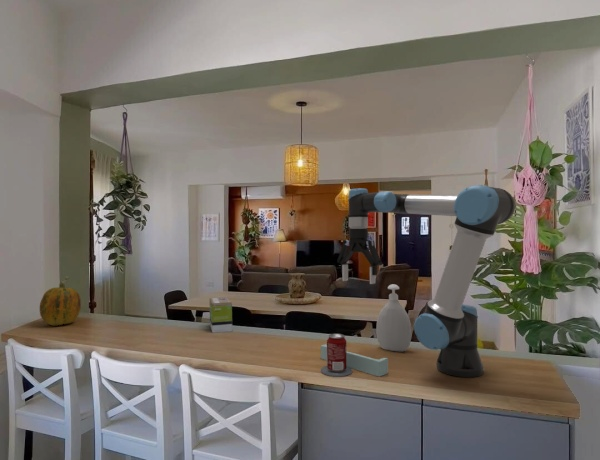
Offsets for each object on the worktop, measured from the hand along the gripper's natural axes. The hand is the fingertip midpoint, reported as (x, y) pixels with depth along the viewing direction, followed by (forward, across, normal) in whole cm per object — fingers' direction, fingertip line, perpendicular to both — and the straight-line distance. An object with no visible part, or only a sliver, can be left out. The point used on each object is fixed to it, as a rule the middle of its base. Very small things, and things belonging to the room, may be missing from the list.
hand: (358, 282), depth 159 cm
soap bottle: (+29, -5, -17) cm, 34 cm away
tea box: (+29, +76, +15) cm, 83 cm away
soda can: (+28, -6, +20) cm, 35 cm away
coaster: (+29, -6, +20) cm, 35 cm away
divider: (+29, -6, +11) cm, 31 cm away
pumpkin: (+29, +143, +71) cm, 162 cm away
